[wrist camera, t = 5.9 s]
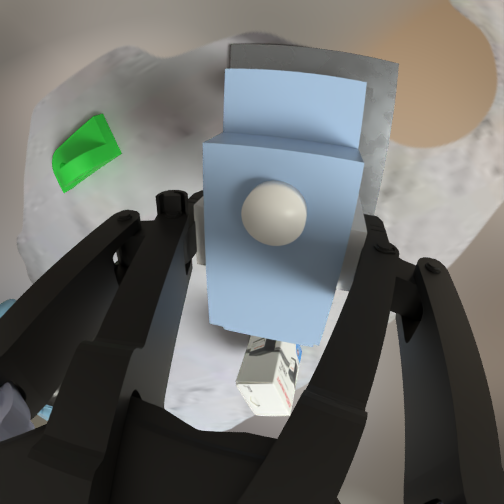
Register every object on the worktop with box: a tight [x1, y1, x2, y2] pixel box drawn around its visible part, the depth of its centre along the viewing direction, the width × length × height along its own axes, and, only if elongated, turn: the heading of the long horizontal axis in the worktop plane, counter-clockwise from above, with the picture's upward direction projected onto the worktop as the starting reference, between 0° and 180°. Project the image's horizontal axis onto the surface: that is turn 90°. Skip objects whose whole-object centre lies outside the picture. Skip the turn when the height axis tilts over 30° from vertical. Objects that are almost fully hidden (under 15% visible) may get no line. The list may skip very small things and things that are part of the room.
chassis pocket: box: [230, 44, 399, 216], centre depth 26 cm, size 16×20×6 cm
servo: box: [203, 69, 367, 347], centre depth 14 cm, size 5×13×9 cm, turn 177°
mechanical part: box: [52, 114, 122, 193], centre depth 31 cm, size 12×6×8 cm, turn 114°
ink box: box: [236, 335, 302, 416], centre depth 38 cm, size 8×5×12 cm, turn 19°
